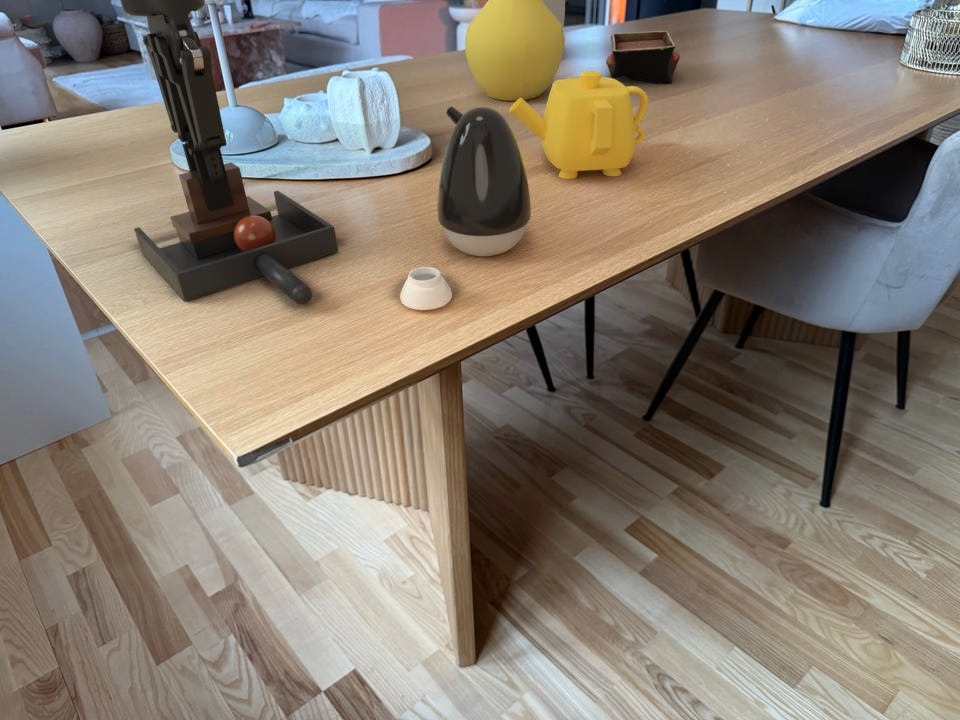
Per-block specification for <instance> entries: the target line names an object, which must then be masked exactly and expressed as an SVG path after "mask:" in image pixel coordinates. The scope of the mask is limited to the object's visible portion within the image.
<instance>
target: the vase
mask: <svg viewBox="0 0 960 720" xmlns="http://www.w3.org/2000/svg"><path fill="white" fill-rule="evenodd" d="M565 40H566V38H565V33H564V27H562V24H561V23H560V22H559V21H558V19H557V18H556V17H555V16H554V15H553V14H552V12H551V11H550V10H549V9H548V8H547V7H546V5H545V4H544V3H543V2H542V0H487V1H486V3H485V4H484V6H483V7H482V8H481V9H480V10H479V12H478V13H477V14H476V16H474V17H473V19H472V20H471V21H470V22H469V24H468V25H467V27H466V32H465V38H464V46H465V47H464V48H465V56H466V59H467V64H468V67H469V69H470V71H471V74H472V76H473V78H474V80H475V82H476V83H477V84H478V86H479V88H480V89H481V90H482V91H483V92H484V93H485V94H486V95H487V96H488V97H489V98H492V99H495V100H499V101H506V102H516V101H517V100H518V99H519V98H522V99H523V100H524V101H529V100H533V99H535V98H538V97H540V96H541V95H542V94H543V93H544V92H545V91H546V89H548V88H549V86H550V84H551V83H552V81H553V80H554V78H555V77H556V74H557V73H558V70H559V68H560V65H561V61H562V59H563V56H564V52H565Z"/></svg>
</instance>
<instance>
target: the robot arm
mask: <svg viewBox="0 0 960 720" xmlns="http://www.w3.org/2000/svg"><path fill="white" fill-rule="evenodd" d="M120 4H121V7H122V10H123V12H125V13H126V14H127V15H129V16H133V17H146V21H147V26H148V31H149V33H147V34H145V35H143V36H142V38H143V39H142V42H143V45H144V46H145V48H146V51H147V53H148V56H149V58H150V61H151V64H152V67H153V71H154V74H155V77H156V81H157V84H158V87H159V91H160V93H161V97H162V100H163V103H164V106H165V110H166V113H167V116H168V120H169V123H170V128H171V130H172V132H173V133H174V134H175V133H176V134H177V138H178V139H179V141H180V143H182V148H183V152H184V156H185V159H186V163H187V166H188V170H189V171H188V172H192V171H196V170H197V171H198V174H199V178H200V182H201V185H202V189H203V193H204V196H205V200H206V204H207V208H208V210H209V211H214V210H217V209H221V208H225V207H229V206H232V205H234V203H233V199H232V195H231V191H230V187H229V183H228V179H227V175H226V171H225V167H224V164H225V162H224V158H223V155H222V151H221V148H222V147H226V146H227V138H226V135H225V130H224V125H223V119H222V115H221V110H220V106H219V101H218V99H219V98H218V96H217V95H218V94H217V91H216V84H215V80H214V75H213V67H212V65H213V64H212V53H211V51H210V49H209V47H208V46H203V47H202V43H201V40H200V36H199V34H198V32H197V31H195V30H194V27H193V24H192V21H191V19H190V15H189V14H190V13H191V12H197V11H199V10H202V9H203V8H204V6H205V5H206V0H120Z"/></svg>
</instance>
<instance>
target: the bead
mask: <svg viewBox="0 0 960 720" xmlns="http://www.w3.org/2000/svg"><path fill="white" fill-rule="evenodd" d="M234 239H235V243H236V245H237V246H238V247H239V249H240V250H241V251H243V252H245V251H248V250H252V249H255V248H258V247H262V246H265V245H268V244H271V243H275V240H276V234H275V230H274V228H273V226H272V224H271V223H270V222H269V221H268V220H266V219H265V218H263V217H260V216H255V215H252V216H247V217H245V218H243V219H241V220H240V221H239V222H238V223H237V225H236V227H235V230H234Z"/></svg>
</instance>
